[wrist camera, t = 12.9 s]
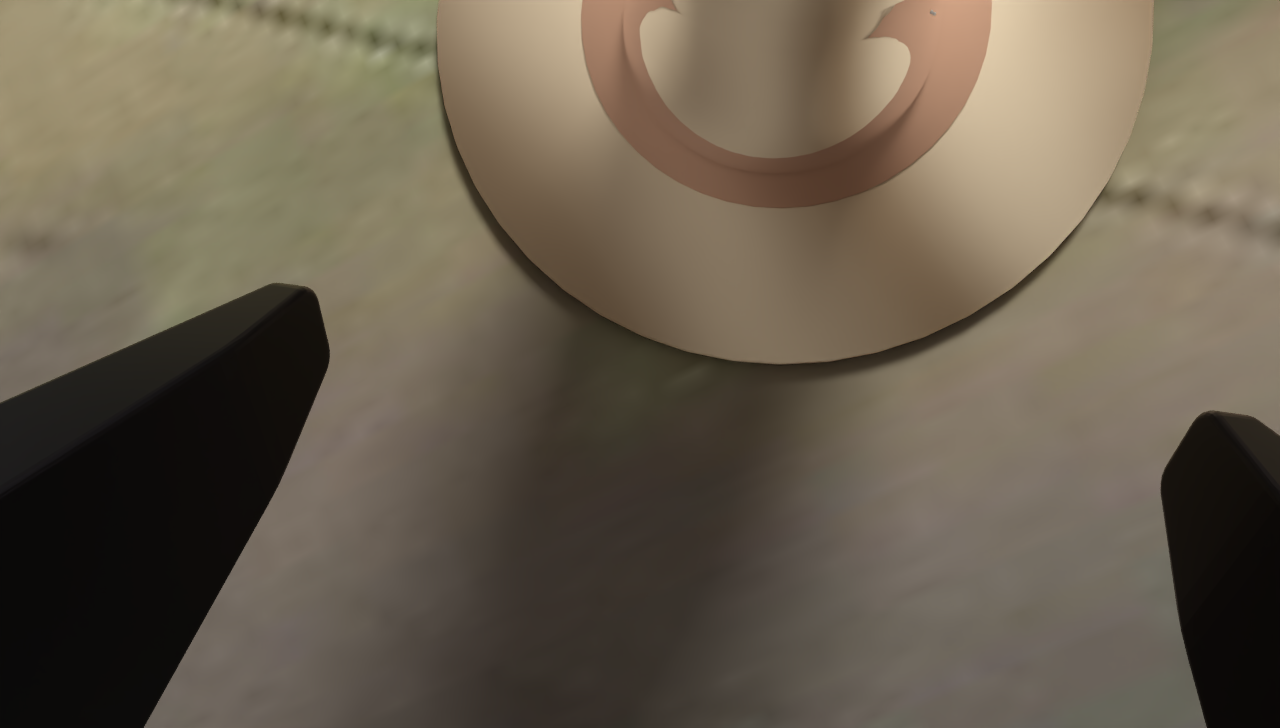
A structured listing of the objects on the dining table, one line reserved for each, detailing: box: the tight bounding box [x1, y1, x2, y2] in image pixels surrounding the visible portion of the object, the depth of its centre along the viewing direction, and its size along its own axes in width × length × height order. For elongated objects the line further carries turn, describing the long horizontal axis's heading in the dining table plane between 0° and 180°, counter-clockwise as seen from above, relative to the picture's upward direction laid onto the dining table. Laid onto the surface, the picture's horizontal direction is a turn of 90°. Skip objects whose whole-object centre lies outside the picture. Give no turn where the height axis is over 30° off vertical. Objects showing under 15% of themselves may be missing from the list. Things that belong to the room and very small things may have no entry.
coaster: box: [437, 0, 1154, 365], centre depth 17 cm, size 14×14×1 cm
